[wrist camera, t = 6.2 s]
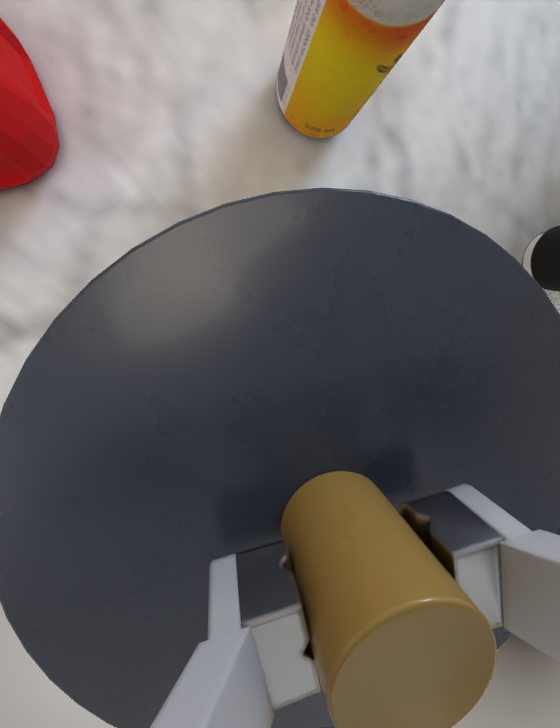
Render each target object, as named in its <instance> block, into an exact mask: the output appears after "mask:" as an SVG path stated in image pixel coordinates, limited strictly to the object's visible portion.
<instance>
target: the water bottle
mask: <svg viewBox="0 0 560 728" xmlns="http://www.w3.org/2000/svg"><path fill="white" fill-rule="evenodd" d="M59 147H60V146H59V140H58V134H57V128H56V122H55V117H54V114H53V112H52V109H51V107H50V104H49V102H48V100H47V97H46V95H45V92H44V90H43V88H42V85H41V83H40V81H39V78H38V76H37V74H36V72H35V69H34V67H33V65H32V62H31V60H30V59H29V57H28V55H27V54H26V52H25V50H24V49H23V47H22V45H21V44H20V42H19V40H18V39H17V37H16V36H15V35H14V34H13V32H12V31H11V30H10V28H9V27H8V26H7V25H6V24H5V22H4V21H3V20H2V19H1V18H0V190H2V189H5V188H9V187H13V186H17V185H21V184H25V183H29V182H31V181H33V180H34V179H36V178H37V177H38V176H40V175H41V174H43V173H44V172H46V171H47V170H48V169H50V168H51V167H53V165H54V162H55V159H56V156H57V153H58V150H59Z"/></svg>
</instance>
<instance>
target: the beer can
mask: <svg viewBox="0 0 560 728" xmlns="http://www.w3.org/2000/svg"><path fill="white" fill-rule="evenodd" d="M444 1H445V0H297V3H296V7H295V11H294V15H293V18H292V22H291V26H290V29H289V33H288V37H287V41H286V44H285V48H284V52H283V56H282V59H281V63H280V67H279V70H278V75H277V82H276V89H277V97H278V101H279V105H280V107H281V110H282V112H283V114H284V116H285V117H286V119H287V120H288V122H289V123H290V124H291V125H292V126H293V127H294V128H295V129H296V130H298V131H299V132H301V133H302V134H304V135H306V136H309V137H313V138H328V137H332V136H334V135H336V134H338V133H340V132H341V131H343V130H344V129H345V128H346V127H347V126H348V125H349V123H350V122H351V121H352V120H353V118H354V117H355V116H356V114H357V113H358V112H359V111H360V109H361V108H362V107H363V105H364V104H365V103H366V102H367V100H368V99H369V98H370V96H371V95H372V94H373V93H374V91H375V90H376V89H377V87H378V86H379V85H380V84H381V82H382V81H383V80H384V78H385V77H386V76H387V74H388V73H389V72H390V71H391V69H392V68H393V67H394V65H395V64H396V63H397V62H398V60H399V59H400V58H401V56H402V55H403V54H404V53H405V51H406V50H407V49H408V47H409V46H410V45H411V44H412V42H413V41H414V40H415V38H416V37H417V36H418V35H419V33H420V32H421V31H422V29H423V28H424V27H425V26H426V24H427V23H428V22H429V20H430V19H431V18H432V17H433V15H434V14H435V13H436V11H437V10H438V9H439V8H440V6H441V5H442V4H443V2H444Z"/></svg>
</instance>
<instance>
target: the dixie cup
mask: <svg viewBox="0 0 560 728" xmlns="http://www.w3.org/2000/svg"><path fill="white" fill-rule="evenodd" d="M523 267H524V268H525V269H526V270H527V272H528V273H529V274H530V275H531V276H532V277H533V278H534V279H535V280H536V281H537V282H538V284H539V285H540V286H541V287H542V288H544V289H547V290H553V291H560V226H557V227H554V228H552V229H550V230H548V231H547V232H545V233H543V234H540V235H538V236H537V237H536V238H534V239H533V240H532V241H531V243H530V244H529V245H528V247H527V249H526V251H525V254H524V258H523Z"/></svg>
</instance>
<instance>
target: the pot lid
mask: <svg viewBox="0 0 560 728" xmlns="http://www.w3.org/2000/svg"><path fill="white" fill-rule="evenodd" d="M461 484H468V485H471V486H472V487H474V488H475V489H476V490H478V491H479V492H480V493H482V494H483V495H484V496H486V497H487V498H488V499H490V500H491V501H492V502H494V503H495V504H496V505H498V506H499V507H500V508H502V509H503V510H504V511H506V512H507V513H508V514H510V515H511V516H513V517H514V518H515V519H517V520H518V521H519V522H521V523H522V524H523V525H525V526H526V527H527V528H529V529H530V530H531V531H536V530H539V529H541V530H544V531H547V532H550V533H554V534H557V535H560V314H559V313H558V311H557V310H556V308H555V307H554V305H553V304H552V302H551V301H550V299H549V298H548V296H547V295H546V293H545V292H544V290H543V289H542V287H541V286H540V285H539V284H538V282H537V281H536V280H535V279H534V278H533V277H532V276H531V275H530V274H529V273H528V272H527V270H526V269H525V268H524V267H523V266H522V265H521V264H520V263H519V262H518V261H517V260H516V258H514V257H513V256H512V255H511V254H509V253H508V252H507V251H506V250H504V249H503V248H502V247H501V246H499V245H498V244H497V243H496V242H494V241H493V240H492V239H491V238H489V237H488V236H487V235H485V234H484V233H482V232H480V231H478V230H477V229H475V228H473V227H471V226H470V225H468V224H466V223H464V222H463V221H461V220H459V219H457V218H456V217H454V216H452V215H450V214H447V213H445V212H442V211H439V210H437V209H434V208H431V207H429V206H426V205H424V204H421V203H418V202H416V201H413V200H410V199H405V198H400V197H396V196H391V195H386V194H382V193H377V192H372V191H367V190H350V189H333V188H314V189H303V190H292V191H280V192H272V193H268V194H264V195H260V196H255V197H251V198H247V199H243V200H239V201H234V202H230V203H226V204H223V205H221V206H218V207H216V208H213V209H211V210H208V211H205V212H203V213H200V214H198V215H195V216H193V217H190V218H188V219H185V220H183V221H180V222H178V223H176V224H174V225H172V226H171V227H169V228H167V229H165V230H164V231H162V232H160V233H158V234H157V235H155V236H153V237H151V238H150V239H148V240H146V241H144V242H143V243H141V244H139V245H137V246H136V247H134V248H132V249H131V250H130V251H128V252H127V253H126V254H125V255H123V256H122V257H121V258H119V259H118V260H117V261H116V262H114V263H113V264H112V265H110V266H109V267H108V268H107V269H105V270H104V271H103V272H102V273H100V274H99V275H98V276H96V277H95V278H94V279H93V280H91V281H90V282H89V283H88V284H87V285H86V287H85V288H84V289H83V290H82V291H81V292H80V293H79V294H78V295H77V296H76V297H75V298H74V299H73V300H72V301H71V302H70V303H69V304H68V305H67V306H66V307H65V309H64V310H63V311H62V312H61V313H60V314H59V315H58V316H57V317H56V318H55V319H54V321H53V322H52V324H51V325H50V326H49V328H48V329H47V331H46V332H45V333H44V335H43V336H42V338H41V339H40V341H39V342H38V343H37V345H36V346H35V348H34V349H33V351H32V352H31V353H30V355H29V356H28V358H27V359H26V361H25V363H24V365H23V367H22V369H21V371H20V373H19V375H18V377H17V379H16V381H15V383H14V385H13V387H12V389H11V391H10V393H9V395H8V397H7V399H6V401H5V403H4V406H3V409H2V412H1V415H0V602H1V604H2V607H3V610H4V612H5V615H6V618H7V619H8V621H9V623H10V624H11V626H12V628H13V630H14V631H15V633H16V635H17V636H18V638H19V640H20V641H21V643H22V645H23V647H24V648H25V650H26V651H27V653H28V654H29V655H30V656H31V657H32V659H33V660H34V661H35V662H36V663H37V665H38V666H39V667H40V668H41V669H42V671H43V672H44V673H45V674H46V676H47V677H48V678H49V679H50V680H51V681H52V682H53V683H54V684H55V685H57V686H58V687H59V688H60V689H61V690H62V691H64V692H65V693H66V694H67V695H68V696H69V697H70V698H71V699H73V700H74V701H75V702H76V703H77V704H79V705H80V706H82V707H83V708H85V709H86V710H88V711H89V712H91V713H92V714H94V715H96V716H97V717H99V718H100V719H102V720H103V721H105V722H106V723H108V724H110V725H112V726H114V727H117V728H150V727H151V725H152V723H153V721H154V720H155V718H156V716H157V714H158V713H159V711H160V709H161V708H162V706H163V704H164V702H165V701H166V699H167V697H168V695H169V694H170V692H171V690H172V689H173V687H174V685H175V683H176V682H177V680H178V678H179V677H180V675H181V673H182V671H183V670H184V668H185V666H186V664H187V663H188V661H189V659H190V658H191V656H192V654H193V652H194V651H195V649H196V647H197V646H198V644H199V643H201V642H203V641H206V640H208V605H209V568H210V564H211V561H212V560H214V559H218V558H221V557H225V556H228V555H232V554H237V553H238V552H241V551H245V550H248V549H252V548H256V547H259V546H263V545H266V544H270V543H274V542H277V541H281V540H284V542H285V545H286V549H287V552H288V556H289V561H290V565H291V569H292V572H293V574H294V578H295V582H296V585H297V589H298V593H299V597H300V601H301V604H302V608H303V613H304V617H305V621H306V626H307V630H308V634H309V638H310V640H309V642H310V646H311V650H312V653H313V657H314V661H315V666H316V671H317V675H318V680H319V685H320V690H321V691H320V692H318V693H315V694H313V695H310V696H308V697H306V698H303V699H301V700H298V701H296V702H293V703H291V704H289V705H286V706H284V707H281V708H279V709H276V710H274V711H273V712H274V718H273V722H272V726H271V728H451V727H452V726H454V725H455V724H456V723H457V722H458V721H460V720H461V719H462V718H463V717H464V716H465V715H466V714H467V713H468V712H469V711H470V710H471V709H472V708H473V707H474V705H475V704H476V703H477V702H478V701H479V699H480V698H481V696H482V695H483V693H484V691H485V689H486V688H487V686H488V684H489V682H490V680H491V677H492V675H493V671H494V668H495V664H496V657H497V649H498V648H499V647H500V646H501V645H502V644H503V643H504V642H505V641H506V640H507V638H509V636H510V635H511V634H512V633H511V632H509V631H508V630H506V629H505V628H504V625H503V626H500V627H497V628H494V629H492V627H491V625H490V623H489V621H488V619H487V618H486V617H485V616H484V614H483V613H482V612H481V611H480V609H479V608H478V607H477V606H476V605H475V603H474V602H473V601H472V600H471V599H470V597H469V596H468V595H467V594H466V593H465V591H464V590H463V589H462V588H461V587H460V585H459V584H458V583H457V582H456V581H455V579H454V578H453V577H452V576H451V575H450V573H449V572H448V571H447V570H446V569H445V567H444V566H443V565H442V564H441V563H440V561H439V560H438V559H437V558H436V557H435V555H434V554H433V553H432V552H431V551H430V549H429V548H428V547H427V546H426V545H425V543H424V542H423V541H422V540H421V539H420V537H419V536H418V535H417V534H416V533H415V531H414V530H413V529H412V528H411V527H410V525H409V524H408V523H407V522H406V521H405V519H404V518H403V517H402V516H401V515H400V508H401V504H403V503H406V502H410V501H413V500H416V499H419V498H422V497H426V496H429V495H432V494H435V493H439V492H443V491H444V490H446V489H449V488H452V487H455V486H458V485H461Z"/></svg>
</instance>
